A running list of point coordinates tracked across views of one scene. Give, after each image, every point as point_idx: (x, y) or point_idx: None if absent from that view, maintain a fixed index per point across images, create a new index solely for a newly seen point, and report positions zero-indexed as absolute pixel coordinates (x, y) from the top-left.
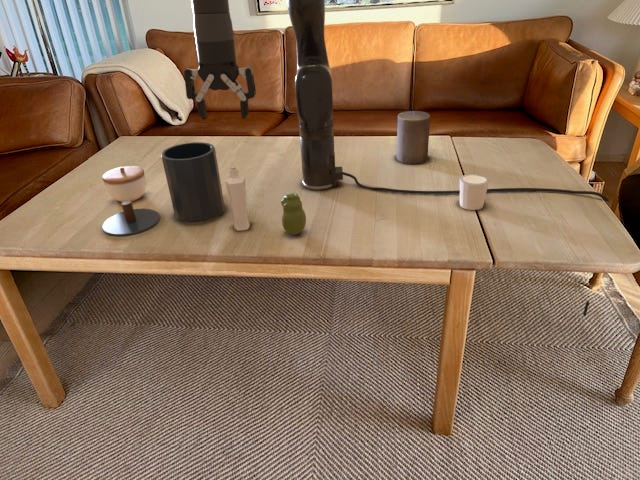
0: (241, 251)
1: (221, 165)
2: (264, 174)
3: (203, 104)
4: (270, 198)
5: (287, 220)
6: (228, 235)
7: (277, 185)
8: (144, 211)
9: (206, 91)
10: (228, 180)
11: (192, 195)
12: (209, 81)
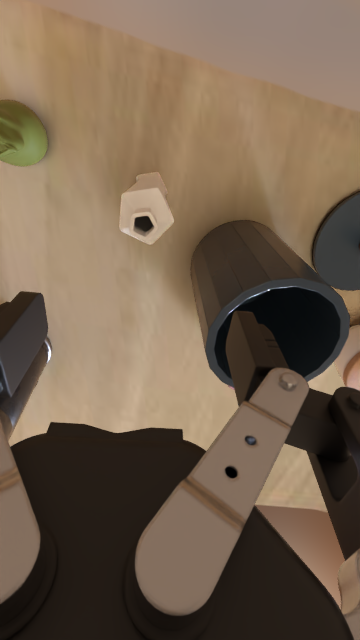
0: (140, 57)
1: (204, 425)
2: (129, 390)
3: (249, 363)
4: (106, 303)
5: (16, 103)
6: (176, 153)
7: (100, 349)
8: (340, 278)
9: (233, 418)
10: (162, 209)
11: (257, 240)
12: (202, 497)
